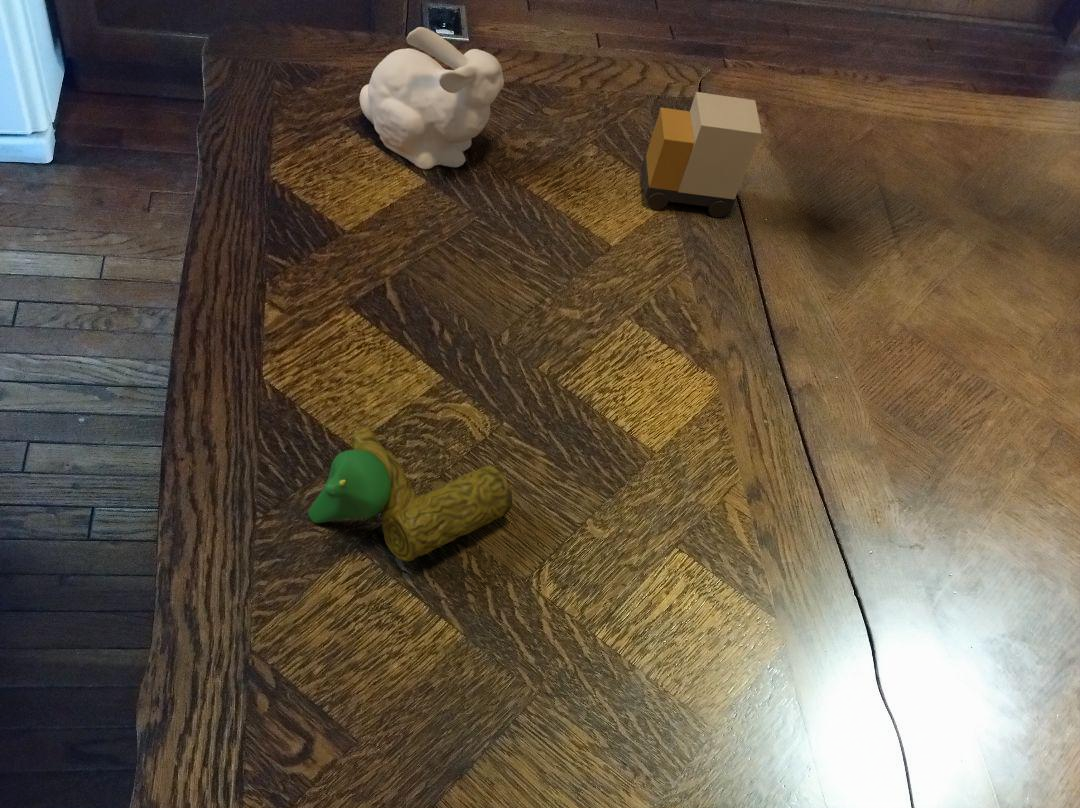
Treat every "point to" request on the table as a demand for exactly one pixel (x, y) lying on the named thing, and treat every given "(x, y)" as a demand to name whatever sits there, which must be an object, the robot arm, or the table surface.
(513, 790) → the table surface
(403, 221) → the table surface
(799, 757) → the table surface
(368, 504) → the bird figurine
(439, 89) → the rabbit
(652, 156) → the cream truck
